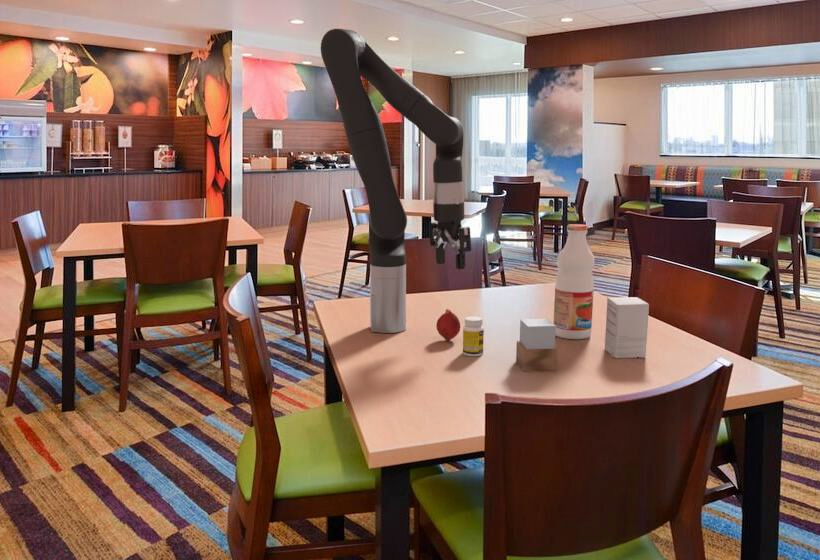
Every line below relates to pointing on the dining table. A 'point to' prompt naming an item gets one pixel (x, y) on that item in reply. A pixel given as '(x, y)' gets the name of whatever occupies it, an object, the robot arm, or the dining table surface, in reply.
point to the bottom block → (536, 359)
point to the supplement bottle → (473, 336)
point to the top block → (537, 333)
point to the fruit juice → (574, 286)
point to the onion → (448, 325)
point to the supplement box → (626, 327)
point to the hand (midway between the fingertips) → (450, 266)
